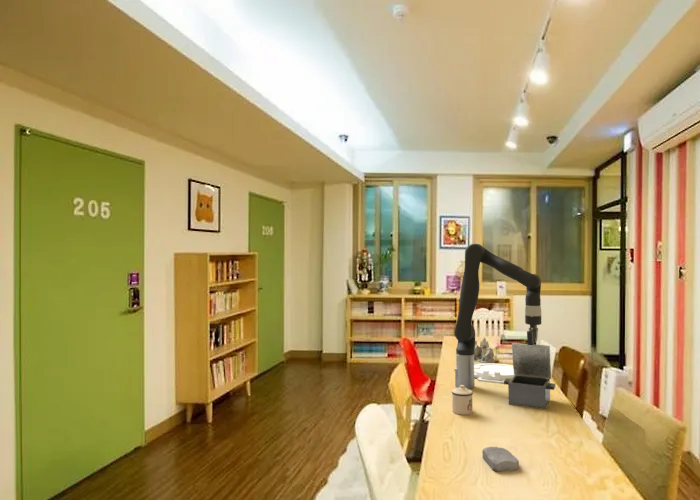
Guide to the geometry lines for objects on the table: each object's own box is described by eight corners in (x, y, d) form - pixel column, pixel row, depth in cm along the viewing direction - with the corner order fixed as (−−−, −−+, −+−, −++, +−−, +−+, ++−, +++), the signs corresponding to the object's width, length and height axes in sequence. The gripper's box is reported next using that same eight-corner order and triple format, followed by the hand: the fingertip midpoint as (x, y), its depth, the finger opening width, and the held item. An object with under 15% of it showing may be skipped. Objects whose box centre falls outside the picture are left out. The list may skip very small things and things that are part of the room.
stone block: (506, 461, 169) (479, 457, 168) (509, 447, 169) (481, 443, 168) (521, 478, 157) (492, 473, 157) (524, 463, 157) (495, 458, 156)
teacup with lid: (471, 416, 211) (471, 388, 212) (450, 414, 214) (450, 387, 215) (474, 407, 223) (474, 382, 223) (454, 406, 226) (454, 380, 226)
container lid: (528, 372, 292) (528, 362, 292) (519, 386, 261) (519, 374, 261) (478, 367, 305) (477, 357, 305) (463, 380, 274) (463, 369, 274)
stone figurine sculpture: (467, 358, 330) (468, 335, 329) (492, 359, 328) (493, 337, 327) (469, 364, 315) (470, 341, 314) (496, 366, 313) (497, 342, 312)
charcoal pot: (501, 403, 229) (501, 381, 229) (508, 394, 243) (508, 374, 243) (552, 410, 218) (552, 387, 218) (556, 400, 232) (556, 379, 232)
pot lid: (510, 331, 237) (512, 329, 239) (514, 377, 242) (515, 375, 245) (548, 333, 229) (549, 331, 231) (551, 381, 234) (551, 379, 237)
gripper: (527, 312, 251) (527, 346, 251) (522, 315, 239) (523, 351, 239) (543, 313, 247) (543, 348, 247) (539, 316, 236) (539, 352, 236)
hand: (533, 349), depth 243 cm, fingers closed
